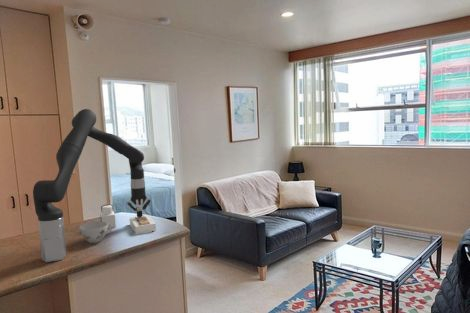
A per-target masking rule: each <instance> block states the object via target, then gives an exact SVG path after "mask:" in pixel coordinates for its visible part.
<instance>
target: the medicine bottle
mask: <svg viewBox="0 0 470 313" xmlns="http://www.w3.org/2000/svg"><path fill="white" fill-rule="evenodd" d="M100 210H101V211H100V215H99V216H100V221H101V222H107V223H108V224H112V229H113V228H116V227H117V223H116V214H115V212H114V206H113V204H104V205H102V206H101V207H100ZM110 228H111V227H110V226H108V229H110Z"/></svg>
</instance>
